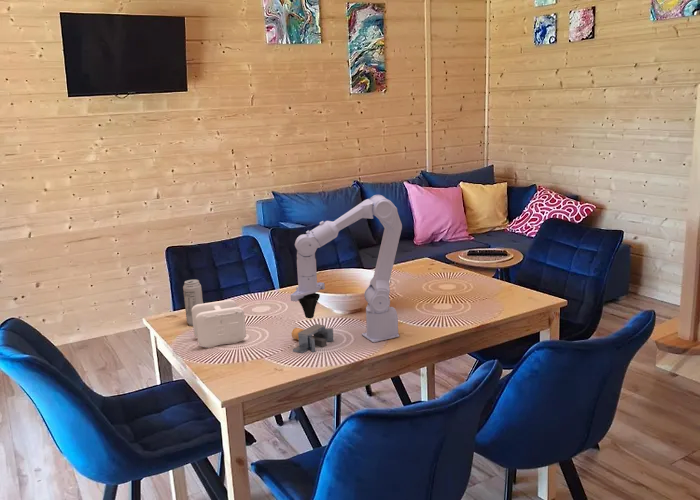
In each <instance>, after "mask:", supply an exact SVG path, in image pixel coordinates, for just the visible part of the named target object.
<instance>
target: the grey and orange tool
mask: <svg viewBox="0 0 700 500" xmlns="http://www.w3.org/2000/svg"><path fill="white" fill-rule="evenodd" d="M303 330H305V329H304V328H300V327H295V328H292V331H291V333H290V334H291V337H292V339H294V340H297V341H299V337H298V333H299V332H301V331H303ZM311 336H312V337H313V338H314V339H315V347H318V348H324V347H327V343H328V342H327V341H326V339H324V338H320V337H316V336H314V335H311Z"/></svg>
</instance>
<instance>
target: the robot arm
mask: <svg viewBox="0 0 700 500" xmlns="http://www.w3.org/2000/svg"><path fill="white" fill-rule="evenodd" d="M374 217H376V218H377V219H378V221H379V222H380V224H381V225H382V226H383V228H384V229H383V234H382V238H381V244H380V246H379V252H378V256H377V260H376V263H375V264H376V265H375V269H374V273H373V277H372V278H371V279H370V282H369V285H368V286H367V287H366V289H365V291H364V296H363V297H364V299H365V301H366V302H367V305H366V306H365V316H366V317H365V318H366V319H365V320H366V332H363V333H361V335H362V337H364V338H366V339H367V340H369V341H370V342H372V343H377V342H382V341H387V340H390V339H394V338H395V339H396V338H399V337H400V335H399V317H398V313H397V310H396V308H395V307H393V306H390V305H391V300H390V293H391V292H390V291H391V287H390V281H391V276H392V271H393V267H394V264H395V259H396V256H397V255H396V254H397V250H398V246H399V241H400V238H401V233H402V230H403V224H402V221H401V218H400V215H399V212H398V207H396V206H395V203H393V202H392V201H391V200H390V199H389V198H386V197H385V196H384V195H381V194H374V195H373V196H371V197H369V198H367V199H364V200H363V201H361V202H360V203H359V204H357V205H356V206H354V207H353V208H351V209H350V210H347V212H345V213H344V214H342V215H340V217H338V218H336V219H335V220H334V221H331V220H325V221H324V220H322V221H320V222H319V225H317V226H315V227H314V228H313V229H311V230H309V229H308V230H307V231H305V234H304V233H303V234H300V235H298V237H297V238H296V239H295V242H294V247H295V249H296V268H297V269H296V271H297V273H296V274H297V284H298V285H297V287H295V291H294V292H293V293H291V294H290V301H291V302H295V303H296V302H298V303H299V304H300V306H301V308H302V311H303V314H304V316H305V319H310V320H311V319H313V318H314V317H315V310H316V307H317V304H318V301H319V299H320V295H321V294H320V293H318V292H319V291H321V290H325V289H326V287H325V285H326V284H325V282H321V281H319V282H318V274H317V259H316V251H317V249H318V248H319V249H320V248H322V247H323V246H325V245H326V244H328V243H330V242H331V241H333V240H334V239H336V238H337V237H338V236H339V232H340V231H341V230H343V229H345V228H346V227H349V226H351V225H352V224H354V223H356V222H357V221H360V220H361V219H371V220H372V219H374Z"/></svg>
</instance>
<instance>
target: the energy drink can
mask: <svg viewBox="0 0 700 500" xmlns="http://www.w3.org/2000/svg"><path fill="white" fill-rule="evenodd" d="M182 289H183V298H184V299H183V301H184V308H185V317H186V318H185V319H186V323H187V324H188V325H189V326H192V327H193V320H192V311H191V310H192V307H193V306H195V305H197V304H203V303H204V301H203V290H202V285H201V283H200V280H199V279H188V280H185V281H184V284H183V286H182Z"/></svg>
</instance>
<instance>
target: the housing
mask: <svg viewBox="0 0 700 500" xmlns="http://www.w3.org/2000/svg"><path fill="white" fill-rule="evenodd" d="M311 335H312V336H316V337H320V338H324V339H326V341H327V343H328V342H334V340H335V339H334V328H333V327H332V328H331V327H329V328H328V327H326V325H324V324H320V323H314V324H313V325H311V326H309V327H307V328H305V329H304V330H303V331H301V332H299V333H298V337H299V340H298V346H296V347H294V348H292V352H294V353H300V354H303V353H305V352H307V351H310V352H311V353H316V346H315V339H314V338H313V337H312V336H311Z"/></svg>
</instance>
